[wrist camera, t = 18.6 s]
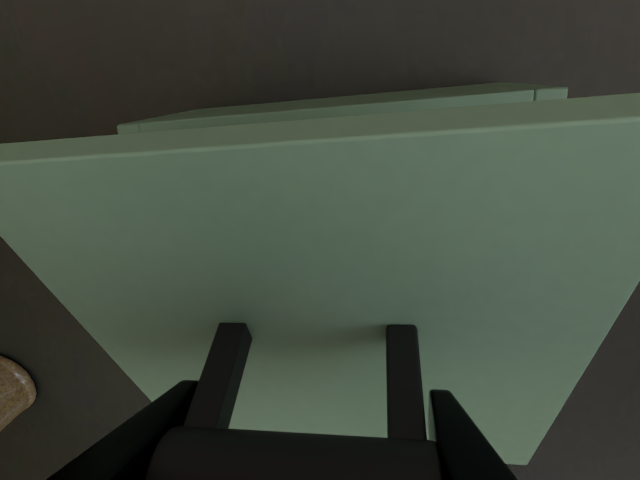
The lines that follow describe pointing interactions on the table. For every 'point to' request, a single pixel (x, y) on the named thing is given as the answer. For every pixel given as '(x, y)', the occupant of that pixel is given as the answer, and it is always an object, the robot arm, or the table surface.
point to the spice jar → (14, 391)
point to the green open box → (350, 106)
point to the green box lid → (342, 274)
